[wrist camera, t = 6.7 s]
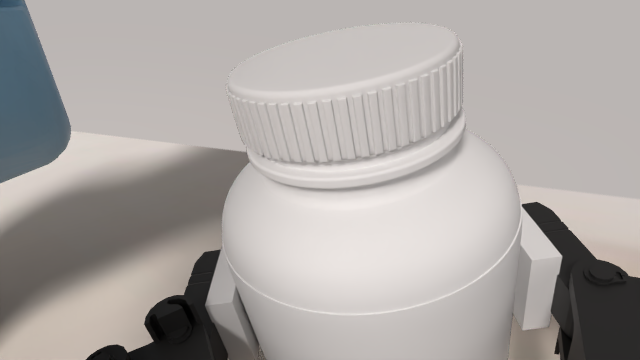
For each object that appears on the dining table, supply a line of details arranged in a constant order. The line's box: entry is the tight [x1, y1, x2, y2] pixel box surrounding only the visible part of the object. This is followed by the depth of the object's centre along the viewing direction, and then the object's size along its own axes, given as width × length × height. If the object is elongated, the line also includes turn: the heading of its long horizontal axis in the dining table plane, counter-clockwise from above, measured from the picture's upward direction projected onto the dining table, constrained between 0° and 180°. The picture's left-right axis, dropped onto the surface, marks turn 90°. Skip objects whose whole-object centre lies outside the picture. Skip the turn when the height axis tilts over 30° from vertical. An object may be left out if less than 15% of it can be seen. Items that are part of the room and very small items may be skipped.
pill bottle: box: [222, 23, 522, 360], centre depth 13 cm, size 8×8×15 cm
